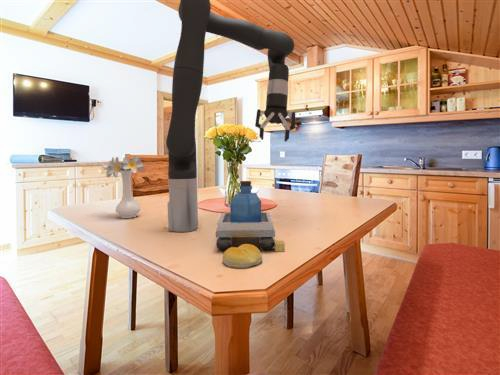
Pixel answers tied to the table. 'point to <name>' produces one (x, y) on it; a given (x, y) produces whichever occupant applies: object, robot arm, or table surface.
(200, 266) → the table surface
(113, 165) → the flower vase
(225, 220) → the trolley
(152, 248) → the table surface
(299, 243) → the table surface
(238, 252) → the bread roll
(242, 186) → the perfume bottle
